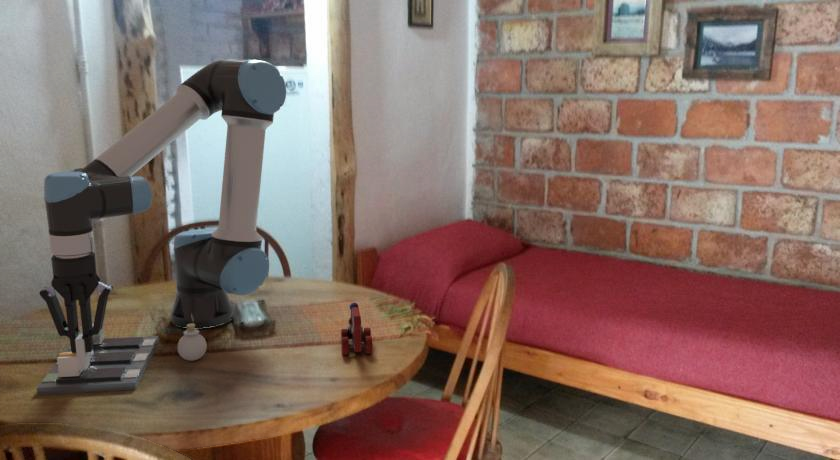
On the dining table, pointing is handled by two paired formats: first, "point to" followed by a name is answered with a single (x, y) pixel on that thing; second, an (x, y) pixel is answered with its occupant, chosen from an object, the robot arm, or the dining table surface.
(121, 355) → the panel
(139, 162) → the robot arm
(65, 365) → the knob
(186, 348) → the ornament
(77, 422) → the dining table surface
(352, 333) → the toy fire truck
